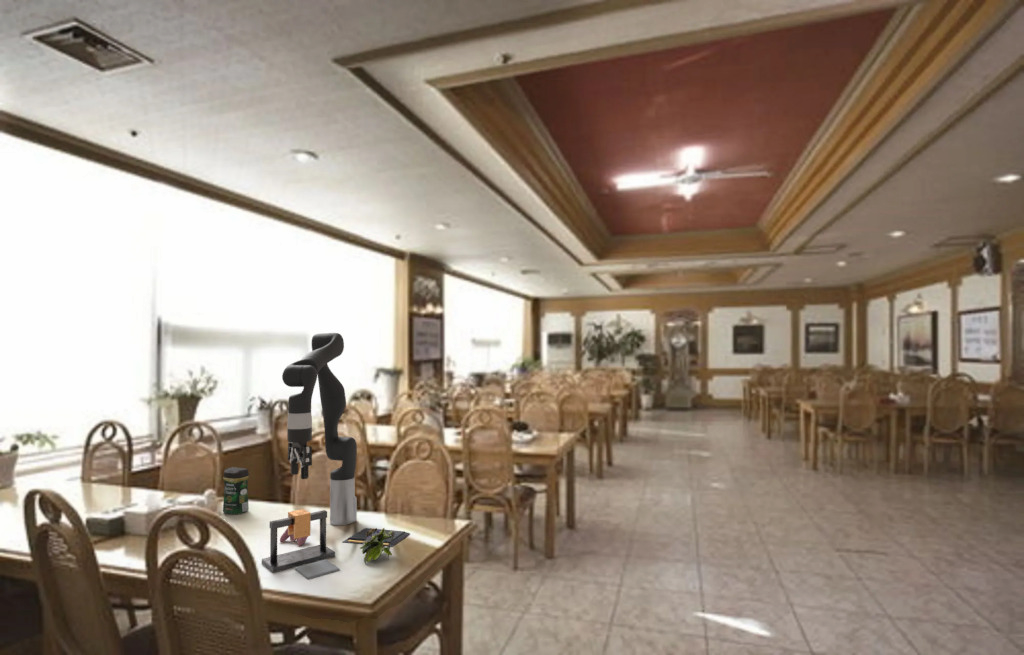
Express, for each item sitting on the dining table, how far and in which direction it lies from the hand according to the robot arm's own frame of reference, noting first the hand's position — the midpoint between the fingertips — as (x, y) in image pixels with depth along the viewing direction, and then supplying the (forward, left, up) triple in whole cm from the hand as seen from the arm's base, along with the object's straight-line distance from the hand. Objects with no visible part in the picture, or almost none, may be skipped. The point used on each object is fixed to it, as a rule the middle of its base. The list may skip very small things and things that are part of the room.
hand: (299, 476), depth 185 cm
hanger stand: (0, 0, -27) cm, 27 cm away
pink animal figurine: (-6, -18, -27) cm, 33 cm away
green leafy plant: (-20, +16, -27) cm, 37 cm away
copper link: (0, 0, -19) cm, 19 cm away
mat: (-1, +12, -27) cm, 29 cm away
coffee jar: (-1, -71, -27) cm, 76 cm away
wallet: (-29, -2, -28) cm, 40 cm away
